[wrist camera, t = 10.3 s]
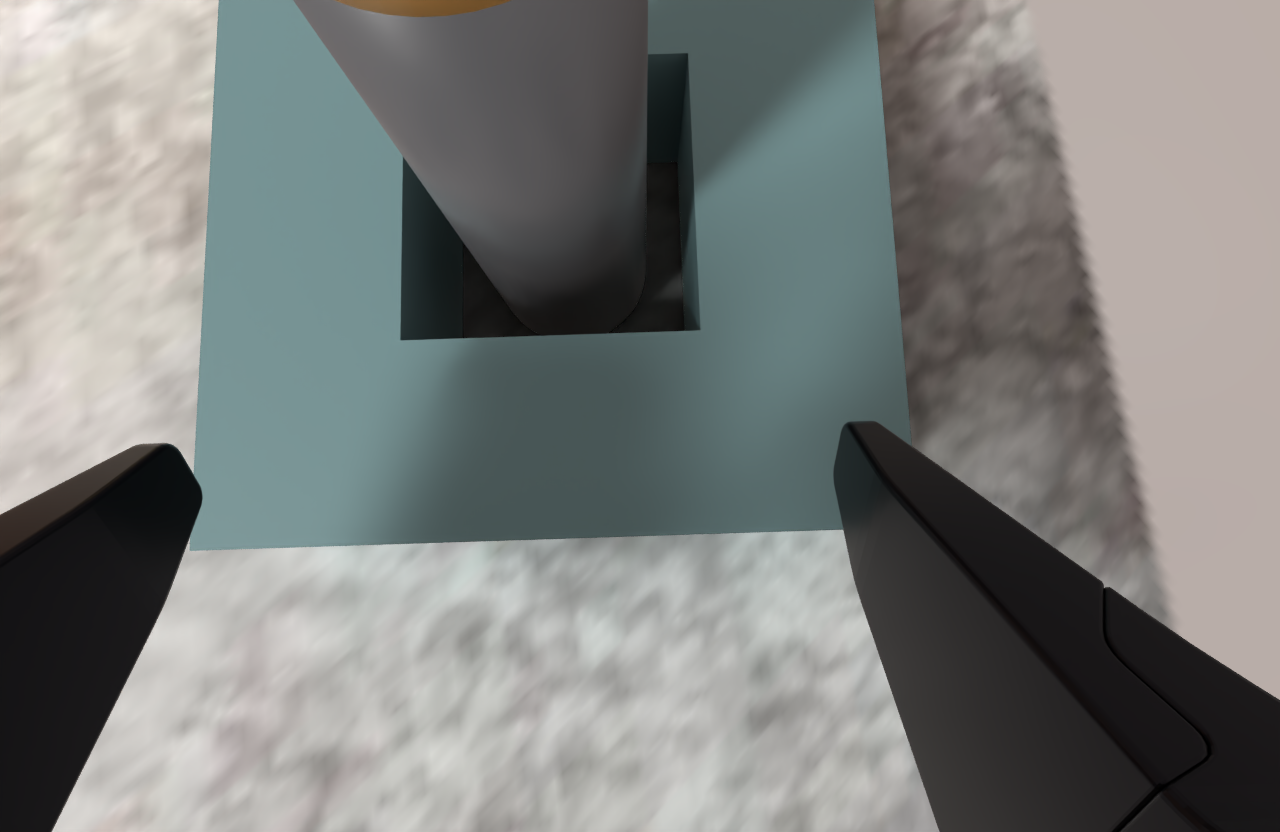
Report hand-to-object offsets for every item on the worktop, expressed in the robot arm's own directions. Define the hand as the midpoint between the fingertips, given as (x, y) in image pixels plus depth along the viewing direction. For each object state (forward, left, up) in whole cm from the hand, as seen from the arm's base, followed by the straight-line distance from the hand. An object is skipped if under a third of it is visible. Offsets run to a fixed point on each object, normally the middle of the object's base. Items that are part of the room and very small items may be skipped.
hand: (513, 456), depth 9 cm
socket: (+5, +2, -8) cm, 10 cm away
